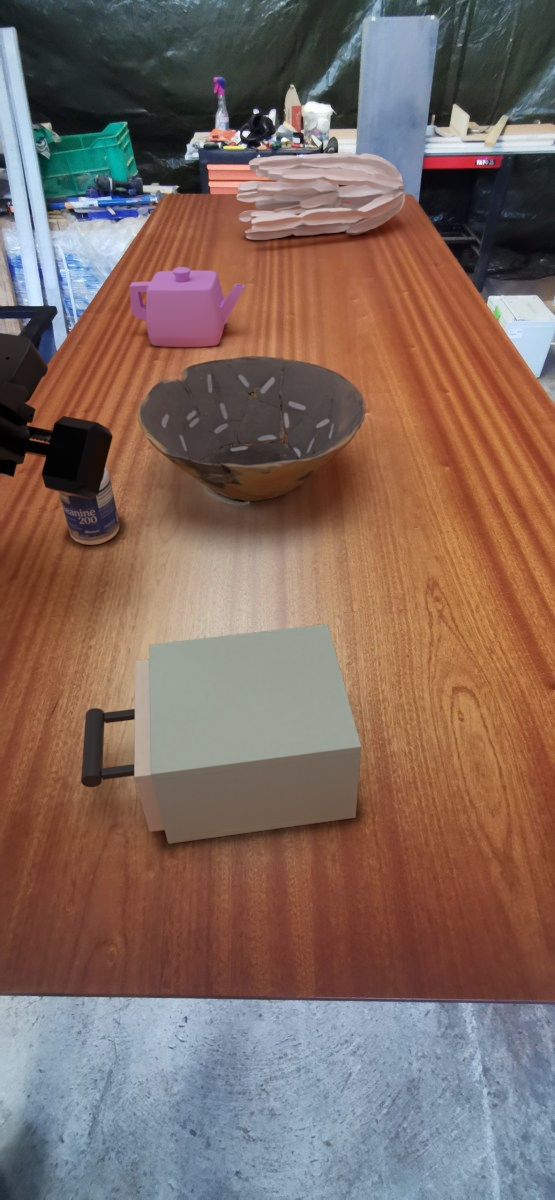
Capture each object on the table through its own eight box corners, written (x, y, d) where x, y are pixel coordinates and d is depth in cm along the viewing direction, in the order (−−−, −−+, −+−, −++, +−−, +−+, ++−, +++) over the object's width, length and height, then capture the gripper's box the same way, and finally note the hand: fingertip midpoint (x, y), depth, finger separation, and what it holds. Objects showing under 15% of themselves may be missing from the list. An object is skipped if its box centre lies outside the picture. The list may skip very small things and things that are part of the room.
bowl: (324, 566, 75) (325, 483, 68) (110, 521, 81) (93, 441, 75) (385, 443, 92) (391, 367, 85) (205, 415, 99) (197, 342, 92)
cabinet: (168, 844, 52) (150, 774, 47) (164, 716, 61) (149, 644, 55) (355, 818, 53) (361, 746, 48) (326, 696, 62) (328, 623, 56)
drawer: (90, 840, 52) (69, 785, 47) (97, 723, 59) (79, 666, 55) (323, 808, 53) (324, 751, 49) (300, 698, 61) (299, 640, 56)
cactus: (388, 163, 160) (228, 171, 157) (414, 123, 143) (235, 131, 139) (393, 246, 163) (237, 256, 159) (420, 217, 146) (244, 227, 142)
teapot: (249, 322, 122) (246, 257, 115) (243, 349, 114) (239, 280, 107) (142, 322, 123) (133, 257, 116) (129, 348, 115) (117, 281, 108)
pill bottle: (60, 540, 79) (38, 462, 73) (87, 512, 83) (69, 435, 76) (103, 551, 77) (84, 472, 71) (129, 522, 81) (114, 444, 75)
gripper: (74, 331, 54) (166, 401, 69) (-120, 302, 60) (4, 372, 75) (37, 478, 54) (137, 516, 69) (-154, 435, 60) (-23, 479, 75)
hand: (61, 466), depth 72 cm, fingers open, 9 cm apart
